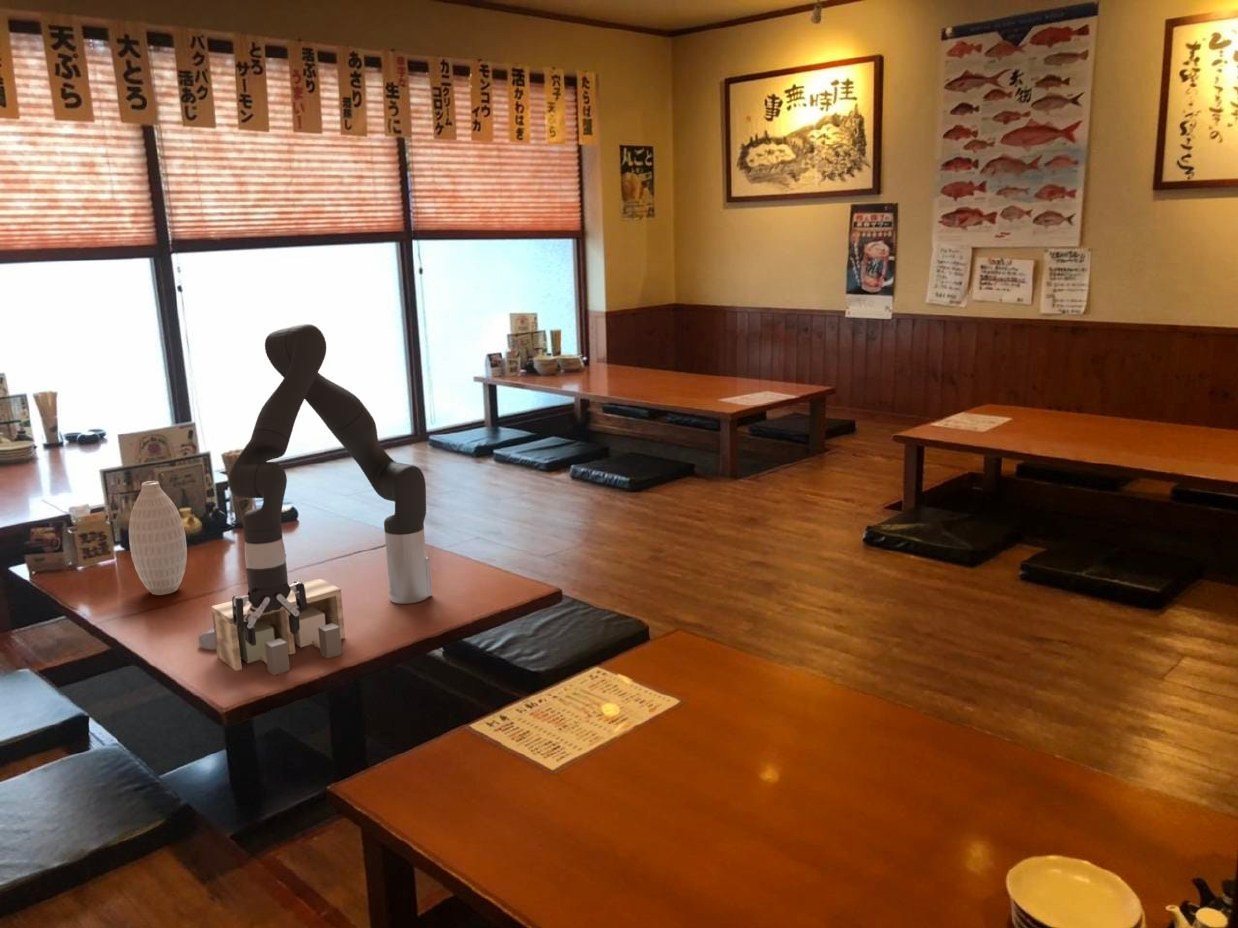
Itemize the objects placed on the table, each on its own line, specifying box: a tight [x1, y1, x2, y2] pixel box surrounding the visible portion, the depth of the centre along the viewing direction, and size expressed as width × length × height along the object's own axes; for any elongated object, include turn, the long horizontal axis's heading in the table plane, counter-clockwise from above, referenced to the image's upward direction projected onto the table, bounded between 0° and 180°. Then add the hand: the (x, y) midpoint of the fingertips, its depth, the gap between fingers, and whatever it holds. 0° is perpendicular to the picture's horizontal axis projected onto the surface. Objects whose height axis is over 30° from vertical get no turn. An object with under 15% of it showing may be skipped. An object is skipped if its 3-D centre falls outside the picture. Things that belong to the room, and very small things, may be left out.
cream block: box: [294, 607, 343, 659], centre depth 210 cm, size 16×6×6 cm, turn 42°
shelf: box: [210, 578, 346, 671], centre depth 210 cm, size 10×24×11 cm, turn 132°
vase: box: [128, 480, 188, 596], centre depth 245 cm, size 13×13×28 cm
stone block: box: [198, 625, 217, 650], centre depth 216 cm, size 12×5×10 cm
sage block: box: [237, 620, 291, 676], centre depth 203 cm, size 16×6×6 cm, turn 42°
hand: (273, 638), depth 197 cm, fingers open, 8 cm apart
